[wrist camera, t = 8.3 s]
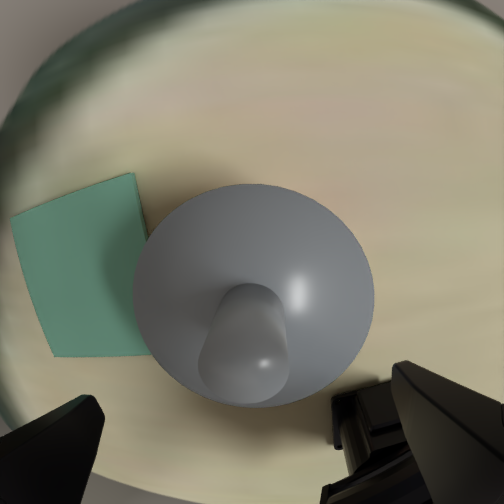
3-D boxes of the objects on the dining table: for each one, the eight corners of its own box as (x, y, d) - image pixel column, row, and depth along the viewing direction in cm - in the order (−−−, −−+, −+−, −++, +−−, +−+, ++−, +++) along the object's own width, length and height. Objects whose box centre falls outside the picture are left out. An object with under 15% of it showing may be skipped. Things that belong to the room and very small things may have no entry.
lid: (372, 378, 15) (401, 443, 10) (176, 405, 16) (151, 469, 11) (353, 164, 13) (401, 155, 8) (113, 214, 14) (46, 232, 9)
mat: (180, 348, 20) (178, 352, 19) (57, 354, 21) (54, 356, 21) (134, 172, 17) (130, 172, 17) (13, 217, 19) (9, 218, 18)
